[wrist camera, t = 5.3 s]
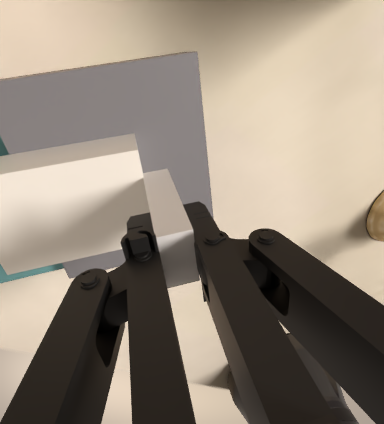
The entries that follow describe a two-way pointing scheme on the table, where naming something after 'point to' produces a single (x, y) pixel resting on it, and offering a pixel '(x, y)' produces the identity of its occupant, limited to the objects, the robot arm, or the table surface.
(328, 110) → the table surface
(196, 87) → the plate
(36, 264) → the white rectangular block
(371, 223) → the hand bell
